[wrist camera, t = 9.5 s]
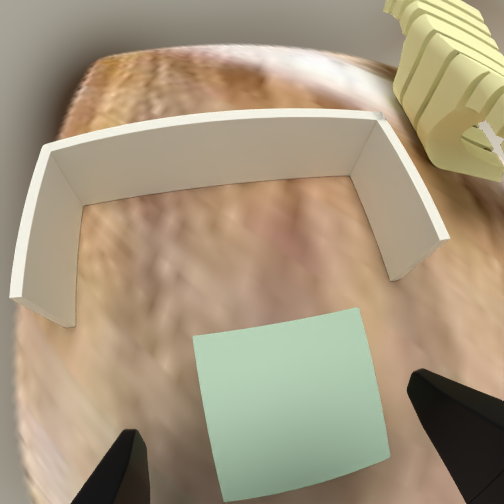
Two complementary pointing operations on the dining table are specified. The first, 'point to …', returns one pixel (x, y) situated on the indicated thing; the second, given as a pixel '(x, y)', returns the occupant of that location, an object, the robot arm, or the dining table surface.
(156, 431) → the dining table surface
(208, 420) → the block
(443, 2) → the slatted curved stool
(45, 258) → the cream u-shaped wall
